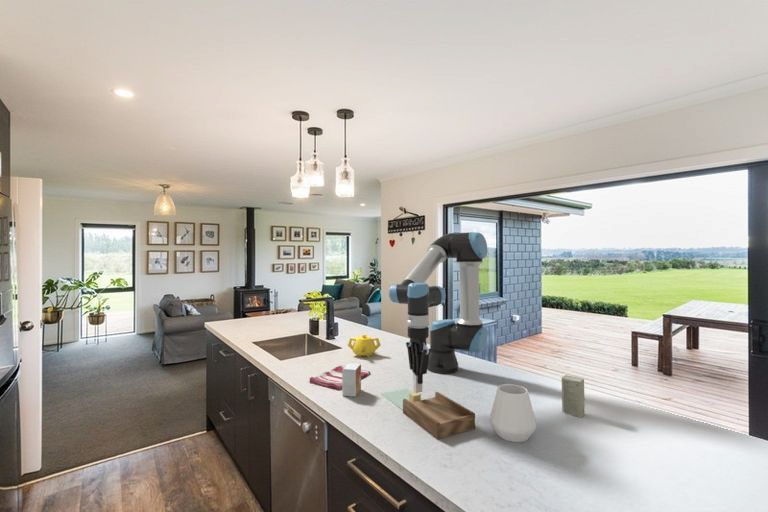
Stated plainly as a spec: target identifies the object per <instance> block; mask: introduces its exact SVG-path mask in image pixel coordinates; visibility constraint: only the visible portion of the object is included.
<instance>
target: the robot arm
mask: <svg viewBox="0 0 768 512" xmlns="http://www.w3.org/2000/svg"><path fill="white" fill-rule="evenodd" d="M487 255H488V243H487V240H486V238H485V236H484V235H483V233H481V232H474V231H471V232H470V231H469V232H455V233H454V232H450V233H446V234H444V235H442V236H440V237H439V238H437V239H436V240H435V241H433V242H432V243H431V244H430V245H428V247H427V250H426V253H425V255H423V257H421V259H420V260H419V261H418V263H417V264H416V265H415V266H414V267H413V268H412V270H411V271H410V272H409V273H408V275H406V277H405V278H404V279H403V280H402V282H401V283H400V284H399V283H396V284H392V285H391V286H390V288H389V290H388V297H389V299H390V301H391V302H392V303H397V304H400V305H401V304H403V305H407V337H408V338H409V341H408V342H407V341H406V343H405V346H406V348H407V355H408V363H409V369H410V370H411V371H412V373H413V392H415V393H419V394H420V393H422V392H423V384H424V383H423V382H424V381H423V380H424V379H423V377H424V375H426V374H427V373H428V371H430V372H432V373H436V374H437V373H438V374H452V373H456V372H458V371H459V362H458V360H457V356H456V352H455V351H456V350H458V351H464V352H469V353H477V354H479V353H481V352H482V351H483V350H484V349H485V347H486V345H487V342H488V336H489V335H488V328H487V327H485V326H484V325H483V324H484V323H483V320H481V318H480V266H481V264H482V263H484V262H483V261H484V260H483V259H485V258H486V257H487ZM451 258H452V259H455V260H456V263H457V265H458V266H459V318H458V319H457V320H456V321H455V320H454V319H447V318H446V319H438V320H434V321H432V322H430V318H429V317H430V314H429V309H430V308H432V307H438V306H439V305H440V306H441V305H442V304H443V303H444V302H445V300H446V297H447V295H446V294H447V293H446V291H445V290H444V288H443V287H441V286H439V285H432V286H431V285H430V286H429V284H428V283H426V282H427V281H428V279H429V278H430V276H431V275H432V274H433V273H434V271H435V270H436V269H437V268H438V267H439V265H440V264H441V263H444V262H445V261H446V260H447V259H451ZM429 325H430V326H429ZM428 326H429V327H428ZM428 338H429V348H428V347H427V339H428Z"/></svg>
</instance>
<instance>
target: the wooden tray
mask: <svg viewBox="0 0 768 512" xmlns="http://www.w3.org/2000/svg"><path fill="white" fill-rule="evenodd" d="M434 393H435V394H434V397H431V398H427V399H425V400H420V401H416V402H409V401H408V400H407V399H403V410H402V414H403V415H405V416H406V417H407V418H408V419H410V420H411V421H412V422H413V423H415V424H416V425H417V426H419V427H420V428H422V429H423V430H424V431H426V432H427V433H428V434H429V435H431V436H432V438H435V439H436V440H441V439H444V438H446V437H450V436H453V435H458V434H462V433H464V432H468V431H471V430H475V429H476V413H475V412H473V411H472V410H470V409H468V408H466V407H464V406H463V405H461V404H460V403H458V402H457V401H455V400H453V399H450V398H449V397H447V396H445V395H444V394H442V393H441V392H439V391H435V392H434Z"/></svg>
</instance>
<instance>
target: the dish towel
mask: <svg viewBox="0 0 768 512" xmlns="http://www.w3.org/2000/svg"><path fill="white" fill-rule="evenodd" d="M345 366H346V365H339V366H336V367H334V368H332V369H331V370H328V371H325V372H323V373H321V374H319V375H318V376H314V377H313V376H311V377H309V380H308V381H309V382H310V384H313V383H314V384H313V385H318V386H320V387H325V388H328V389H332V390H335V391H340V390H342V369H343V368H344V367H345ZM369 375H372V374H371V372H370V371H369V370H364V369H361V380H362V379H364V378H366V377H368V376H369ZM309 382H308V383H309Z"/></svg>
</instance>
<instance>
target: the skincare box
mask: <svg viewBox="0 0 768 512" xmlns="http://www.w3.org/2000/svg"><path fill="white" fill-rule="evenodd" d="M585 403H586V402H585V379H584V378H582V377H577V376H572V375H567V374H565V375H564V376H562V377H561V405H562V407H561V410H562V413H563V412H564V413H563V414H567V415H571V416H574V417H578V418H582V417H583V416H584V415H585V414H586V412H585V411H586V409H585Z"/></svg>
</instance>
